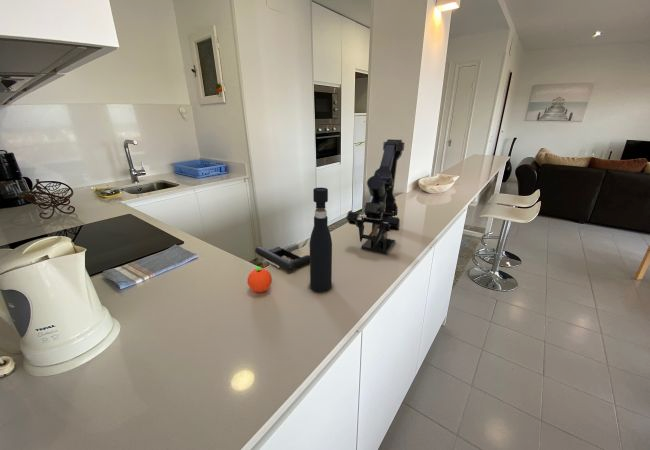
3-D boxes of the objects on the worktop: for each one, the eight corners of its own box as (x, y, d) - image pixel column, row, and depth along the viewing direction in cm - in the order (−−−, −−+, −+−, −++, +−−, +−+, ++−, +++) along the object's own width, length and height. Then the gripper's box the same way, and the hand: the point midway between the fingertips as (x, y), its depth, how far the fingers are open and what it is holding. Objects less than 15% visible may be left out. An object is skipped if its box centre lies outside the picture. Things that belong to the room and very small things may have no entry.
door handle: (286, 237, 112) (251, 247, 100) (321, 253, 99) (286, 266, 88) (286, 245, 113) (252, 256, 101) (321, 261, 100) (286, 276, 89)
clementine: (246, 284, 84) (244, 264, 82) (269, 280, 87) (267, 259, 84) (250, 299, 77) (248, 277, 75) (275, 293, 80) (273, 272, 77)
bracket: (386, 254, 103) (388, 225, 99) (361, 248, 108) (362, 220, 103) (395, 242, 113) (397, 216, 109) (371, 238, 117) (373, 212, 113)
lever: (375, 242, 96) (375, 237, 95) (361, 240, 99) (361, 234, 98) (387, 225, 107) (387, 219, 106) (375, 222, 109) (375, 217, 108)
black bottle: (315, 294, 79) (314, 193, 69) (306, 283, 85) (304, 187, 74) (335, 288, 82) (337, 190, 71) (325, 278, 88) (325, 185, 77)
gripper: (348, 190, 99) (337, 229, 93) (402, 195, 92) (393, 237, 87) (354, 205, 108) (344, 241, 103) (402, 210, 102) (395, 250, 96)
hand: (368, 242), depth 97 cm, fingers closed on lever, 5 cm apart
